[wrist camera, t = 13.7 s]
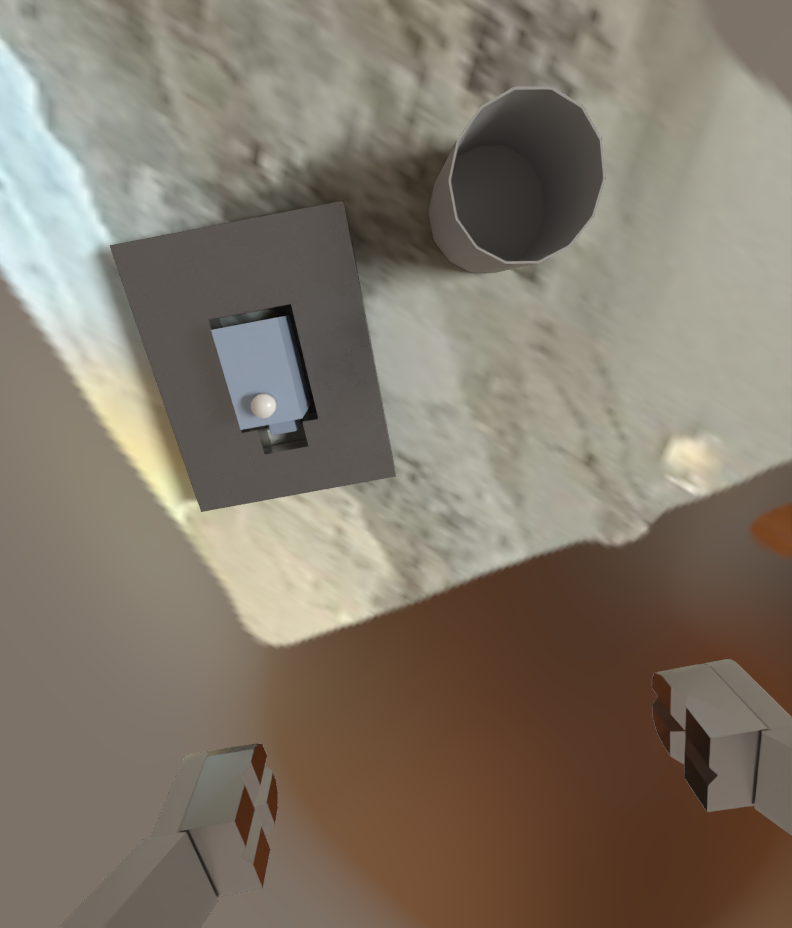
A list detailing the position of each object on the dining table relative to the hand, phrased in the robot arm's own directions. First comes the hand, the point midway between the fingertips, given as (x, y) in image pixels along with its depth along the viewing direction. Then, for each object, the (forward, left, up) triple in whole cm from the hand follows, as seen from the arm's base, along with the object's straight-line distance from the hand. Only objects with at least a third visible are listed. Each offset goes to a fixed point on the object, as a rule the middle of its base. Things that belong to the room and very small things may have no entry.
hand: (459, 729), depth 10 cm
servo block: (+9, -5, -31) cm, 33 cm away
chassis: (+9, -5, -31) cm, 33 cm away
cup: (-9, -13, -31) cm, 35 cm away
